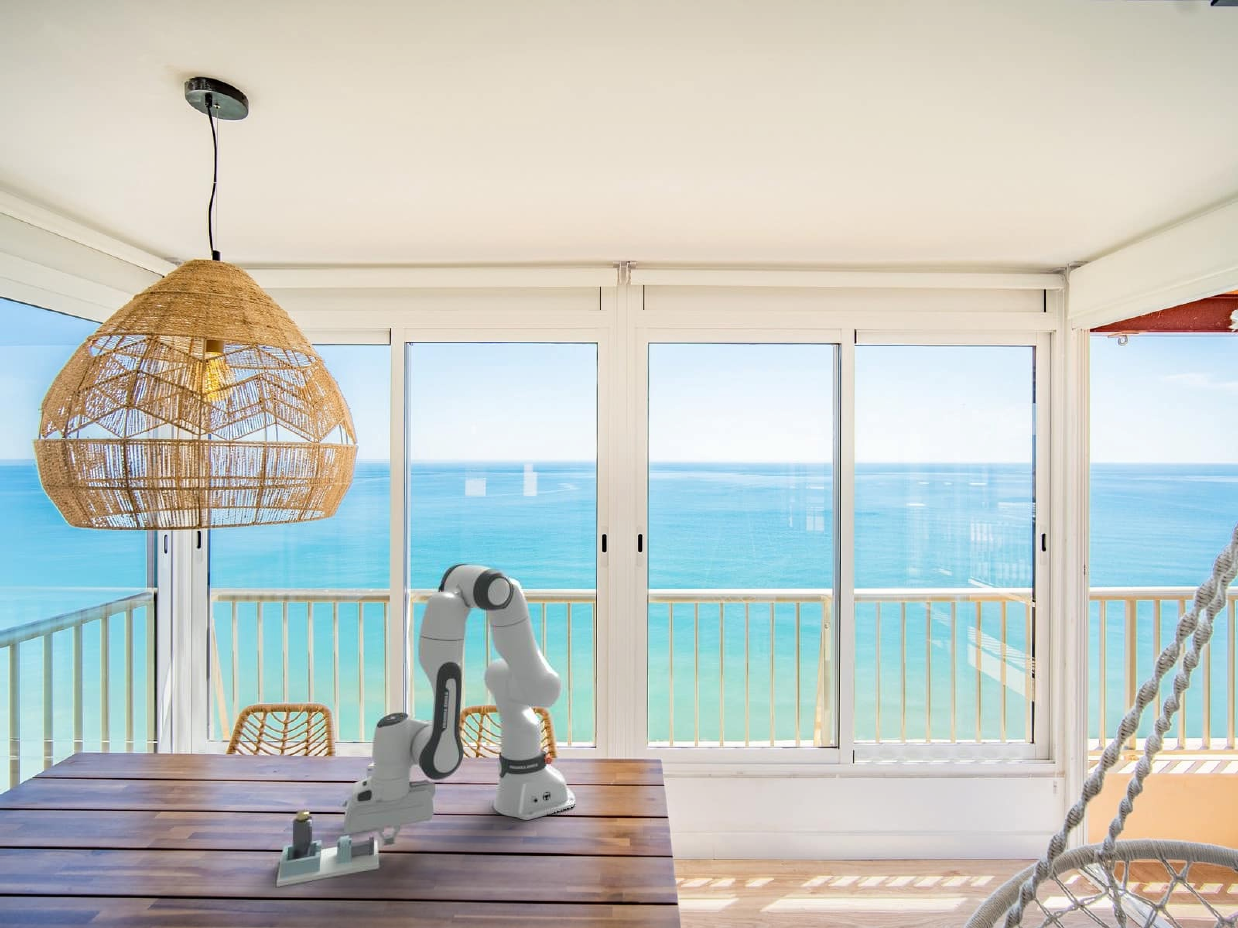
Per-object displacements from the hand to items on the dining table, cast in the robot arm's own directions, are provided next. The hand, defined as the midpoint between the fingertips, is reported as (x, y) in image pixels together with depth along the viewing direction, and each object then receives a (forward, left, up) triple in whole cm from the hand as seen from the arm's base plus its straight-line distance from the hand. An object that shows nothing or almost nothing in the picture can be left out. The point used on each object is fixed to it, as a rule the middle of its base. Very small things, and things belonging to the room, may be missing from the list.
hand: (388, 844), depth 160 cm
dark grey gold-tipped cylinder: (+19, 0, -1) cm, 19 cm away
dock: (+14, 0, -2) cm, 14 cm away
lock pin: (+7, 0, -1) cm, 7 cm away
